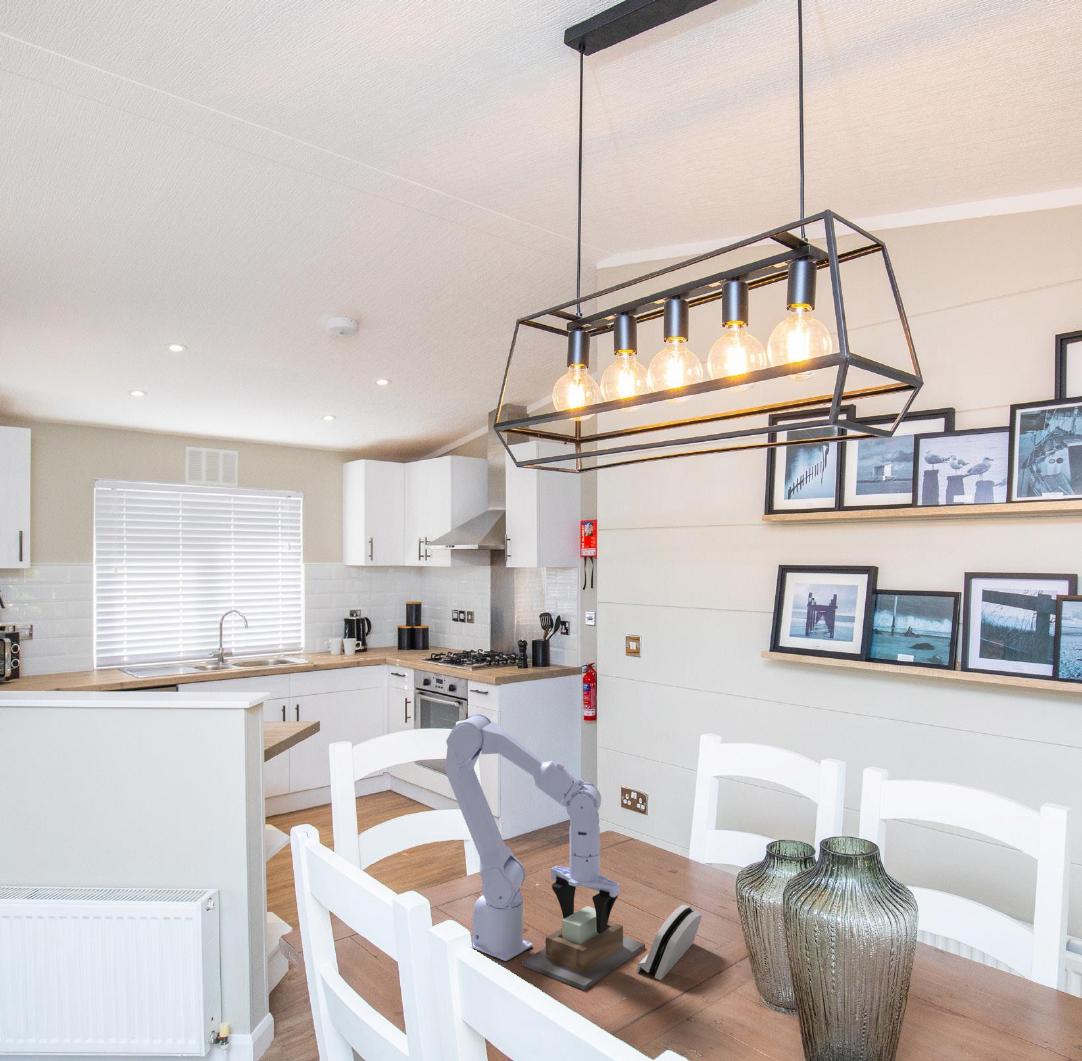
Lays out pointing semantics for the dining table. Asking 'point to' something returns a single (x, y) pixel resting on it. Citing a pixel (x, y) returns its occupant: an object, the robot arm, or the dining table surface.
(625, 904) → the dining table surface
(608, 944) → the wooden box frame
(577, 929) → the pale green block
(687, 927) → the white black rounded slab
